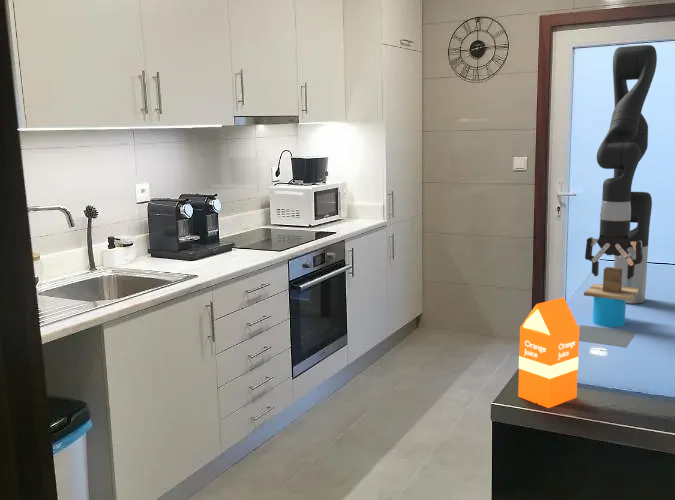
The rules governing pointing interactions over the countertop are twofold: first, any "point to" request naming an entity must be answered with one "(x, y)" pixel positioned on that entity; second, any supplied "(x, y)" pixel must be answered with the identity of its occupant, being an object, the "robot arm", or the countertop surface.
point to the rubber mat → (605, 336)
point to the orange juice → (549, 354)
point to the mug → (609, 312)
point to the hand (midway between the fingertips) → (612, 277)
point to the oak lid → (612, 286)
